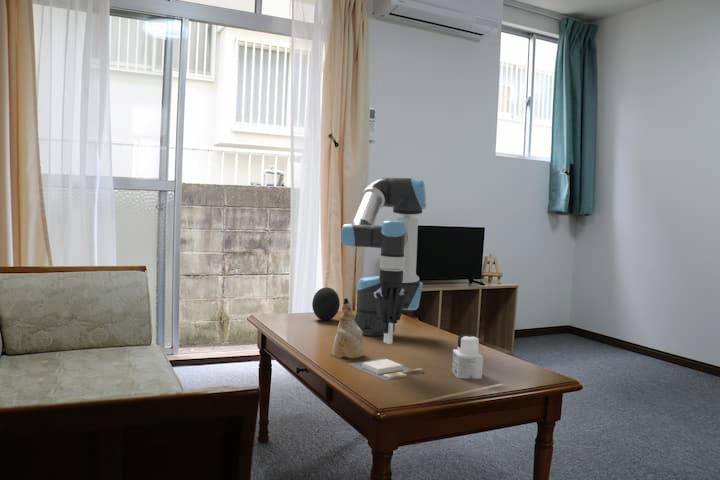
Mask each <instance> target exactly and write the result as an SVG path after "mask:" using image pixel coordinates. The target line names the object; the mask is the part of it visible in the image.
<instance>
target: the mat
mask: <svg viewBox="0 0 720 480" xmlns="http://www.w3.org/2000/svg"><path fill="white" fill-rule="evenodd" d="M384 359H385V358H384V357H383V358H376V359H370V360H364V361H355V362H351V363H348V365H349V366H351V367H354V368H356V369H359V370H361V371H363V372H365V373H367V374H370V375H372V376H374V377H377V378H379V379H381V380H383V381H392V380H398V379H403V378H408V377H409V378H410V377H414V376H418V375H424V372H421V373H416V374H410V375H407V376H405V377H399V378H394V379H387V378H385V377H383V375H384V374H390V373H396V372H401V371H405V370H411V369H412V368H409V367H407V366H405V365H403V370H400V371H394V372H388V373H383V374H376V373H373V372H371V371H369V370H367V369H364V368H362V363H364V362H371V361H377V360H384Z"/></svg>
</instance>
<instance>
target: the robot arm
mask: <svg viewBox="0 0 720 480" xmlns="http://www.w3.org/2000/svg"><path fill="white" fill-rule="evenodd" d="M359 200H360V202H359V205H358V208H357V211H356V212H355V215H354V218H353V220H352V222H351V223H345V224H343V225H342V227H341V233H340V237H341V239H340V240H341V244H342V245H343V246H345V247H346V246H347V247H353V248H357V247H359V248H372V249H373V248H376V249H380V255H379V257H380V259H379V268H380V270H379V273H378V275H374V276H366V277H365V276H364V277H362V278H360V279H359V280H358V283H357V289H356V292H357V296H356V314H355V318H354V319H355V322H356V324H357V325H358V327H359V328H360V329H361V331H362V333H363V336H367V337H369V336H371V337H375V336H376V337H378V336H383V343H384V344H388V345H392V344H393V339H394V338H393V337H394V336H393V335H394V334H393V333H395V326H396V325H395V324H397V323H398V321H400V320H401V317H402V313H403V310H404V311H416V310H417V309H418V308H419V306H420V300H421V296H422V289H423V282H421V281H420V277H419V275H417V256H418V253H417V252H418V229H419V227H418V226H419V217H420V216H421V215H422V214H423V210H426V208H427V195H426V187H425V182H424V180H423V179H420V178H413V177H381V178H378V179H376V180H374V181H372V182H370V183H369V184H368V185H366V186H365V187H364V189H363V190H362V192H361V194H360V197H359ZM383 207H385V208H392V212H393V214H394V215H395V216H396V220H384V221H382V224H381V225H375V223H376V220H377V217H378V215H379V212H380V210H381V209H382V208H383Z"/></svg>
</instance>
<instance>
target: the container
mask: <svg viewBox="0 0 720 480" xmlns="http://www.w3.org/2000/svg"><path fill="white" fill-rule="evenodd" d="M479 349H480V338H479V337H478V336H476V335H474V334H461V335H459V336H458V337H457V348H456V349H455V348H454V349H452V359H451V361H452V363H451V372H452V373H453V374H454V375H455V377H456V378H457V379H479V380H480V379H481V380H482V379H483V367H484V364H483V363H484V355H483V354H481V353H480V352H479Z"/></svg>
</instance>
